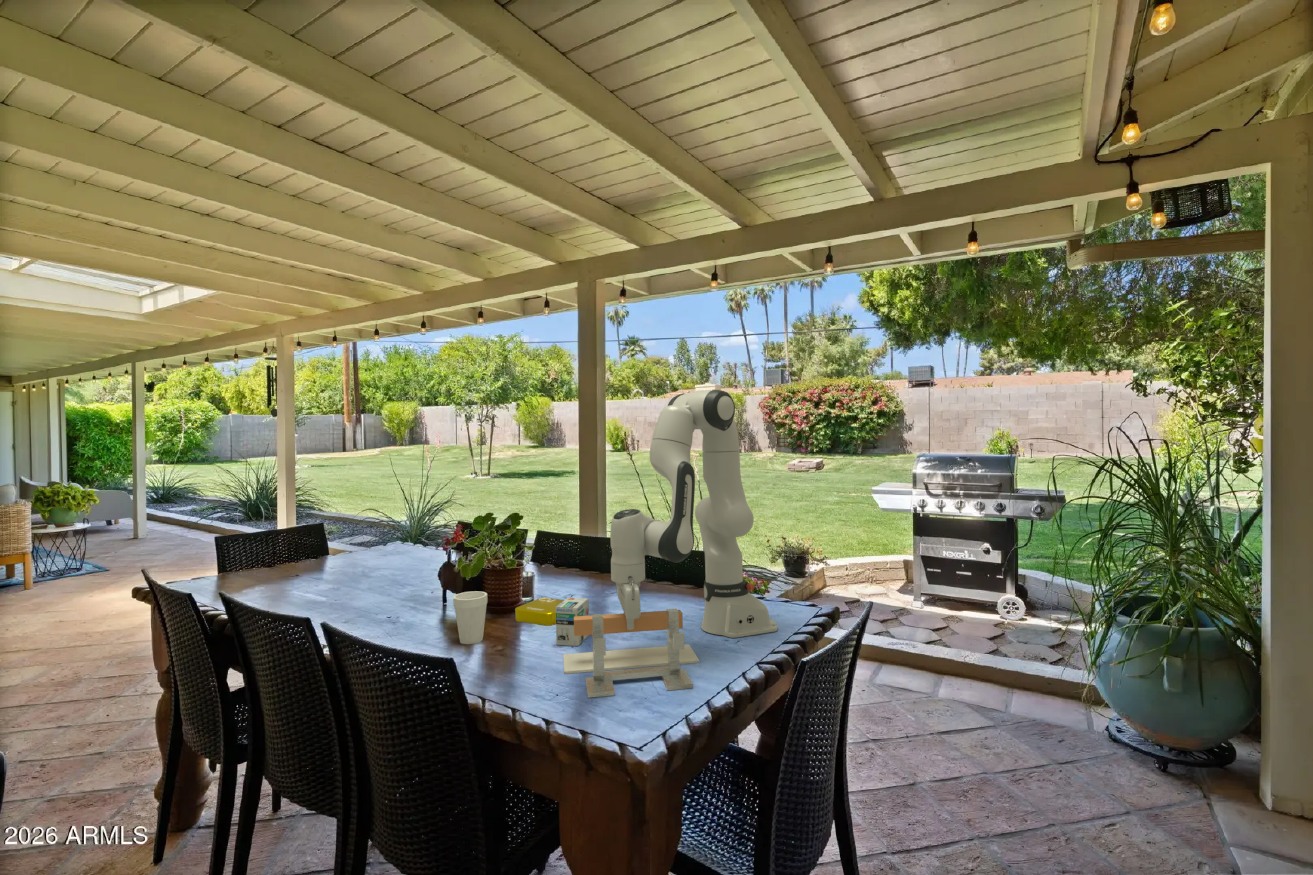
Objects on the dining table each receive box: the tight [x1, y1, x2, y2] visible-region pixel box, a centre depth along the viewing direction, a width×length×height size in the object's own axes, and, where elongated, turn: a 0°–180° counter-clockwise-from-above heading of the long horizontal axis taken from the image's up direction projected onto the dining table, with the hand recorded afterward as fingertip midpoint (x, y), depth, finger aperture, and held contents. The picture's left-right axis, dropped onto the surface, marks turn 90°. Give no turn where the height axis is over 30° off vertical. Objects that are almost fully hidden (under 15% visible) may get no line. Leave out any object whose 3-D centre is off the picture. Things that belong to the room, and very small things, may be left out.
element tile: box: [514, 597, 565, 627], centre depth 197 cm, size 15×15×5 cm
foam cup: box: [452, 590, 488, 645], centre depth 176 cm, size 10×9×13 cm
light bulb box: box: [555, 597, 590, 647], centre depth 175 cm, size 11×7×11 cm, turn 168°
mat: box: [562, 644, 700, 675], centre depth 158 cm, size 34×12×1 cm, turn 100°
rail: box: [574, 609, 684, 636], centre depth 158 cm, size 28×3×4 cm, turn 100°
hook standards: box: [585, 608, 694, 699], centre depth 142 cm, size 24×9×16 cm, turn 100°
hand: (629, 626), depth 158 cm, fingers closed on rail, 3 cm apart
